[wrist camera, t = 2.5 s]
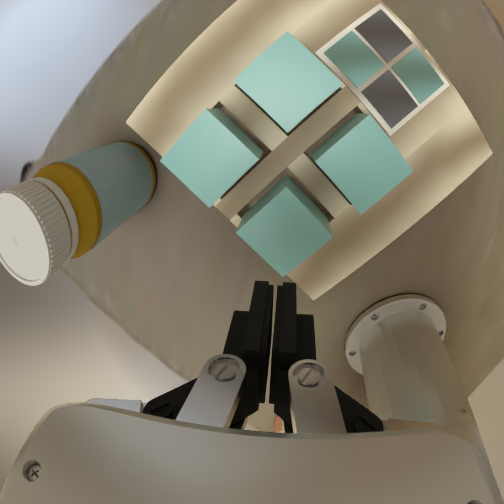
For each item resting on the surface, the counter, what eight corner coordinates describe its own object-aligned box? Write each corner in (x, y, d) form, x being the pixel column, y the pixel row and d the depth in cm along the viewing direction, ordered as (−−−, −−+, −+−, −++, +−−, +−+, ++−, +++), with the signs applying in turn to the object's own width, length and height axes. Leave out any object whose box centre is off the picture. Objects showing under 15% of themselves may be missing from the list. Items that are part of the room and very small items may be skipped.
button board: (472, 146, 21) (495, 154, 18) (311, 279, 30) (313, 303, 26) (311, -38, 16) (313, -58, 13) (144, 119, 24) (122, 122, 21)
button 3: (334, 87, 18) (342, 84, 15) (287, 129, 20) (287, 132, 17) (288, 42, 17) (287, 31, 14) (241, 85, 19) (232, 80, 16)
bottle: (121, 126, 25) (-3, 160, 12) (172, 173, 27) (70, 244, 13) (87, 178, 28) (-22, 239, 14) (133, 223, 29) (39, 310, 16)
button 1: (396, 161, 20) (413, 171, 17) (351, 199, 22) (361, 214, 19) (357, 113, 19) (369, 114, 16) (311, 153, 21) (314, 161, 18)
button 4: (263, 151, 21) (259, 159, 18) (220, 193, 23) (209, 207, 20) (218, 108, 20) (205, 108, 17) (178, 152, 22) (159, 160, 19)
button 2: (327, 218, 23) (333, 237, 20) (284, 254, 25) (282, 277, 22) (287, 174, 22) (286, 186, 19) (243, 214, 24) (235, 232, 21)
